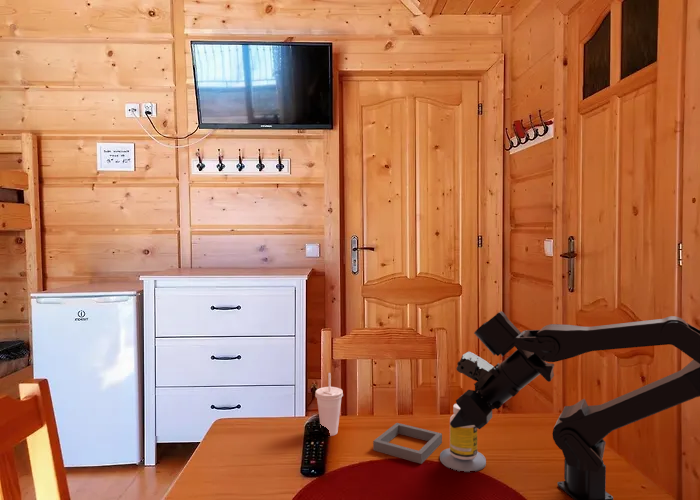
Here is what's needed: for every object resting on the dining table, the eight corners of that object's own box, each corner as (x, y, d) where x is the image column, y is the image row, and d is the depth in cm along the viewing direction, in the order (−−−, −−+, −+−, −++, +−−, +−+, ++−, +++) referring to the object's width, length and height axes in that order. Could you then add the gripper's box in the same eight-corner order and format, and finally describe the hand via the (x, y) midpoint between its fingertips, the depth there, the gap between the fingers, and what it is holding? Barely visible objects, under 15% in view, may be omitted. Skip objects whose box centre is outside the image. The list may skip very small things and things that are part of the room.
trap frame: (442, 442, 101) (442, 433, 101) (421, 463, 91) (421, 454, 91) (396, 431, 107) (396, 422, 107) (373, 450, 97) (373, 440, 97)
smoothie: (318, 440, 102) (318, 377, 102) (313, 428, 109) (312, 369, 108) (346, 436, 104) (346, 375, 104) (339, 425, 110) (339, 367, 110)
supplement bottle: (478, 462, 89) (478, 412, 89) (449, 459, 90) (449, 410, 90) (476, 449, 95) (476, 402, 94) (449, 447, 96) (449, 400, 95)
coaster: (494, 469, 89) (494, 466, 89) (450, 474, 87) (450, 471, 87) (473, 448, 98) (473, 445, 98) (433, 452, 96) (433, 449, 96)
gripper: (495, 332, 98) (446, 376, 104) (466, 351, 82) (410, 402, 88) (535, 374, 94) (481, 417, 100) (512, 403, 78) (450, 452, 84)
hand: (456, 420), depth 93 cm, fingers closed on supplement bottle, 5 cm apart
